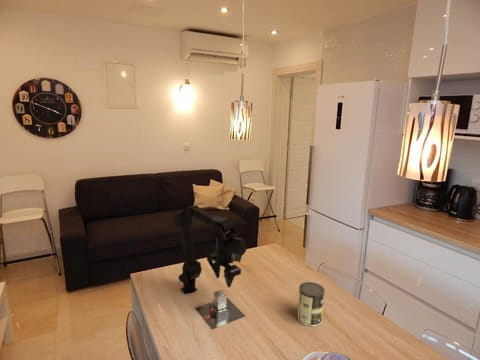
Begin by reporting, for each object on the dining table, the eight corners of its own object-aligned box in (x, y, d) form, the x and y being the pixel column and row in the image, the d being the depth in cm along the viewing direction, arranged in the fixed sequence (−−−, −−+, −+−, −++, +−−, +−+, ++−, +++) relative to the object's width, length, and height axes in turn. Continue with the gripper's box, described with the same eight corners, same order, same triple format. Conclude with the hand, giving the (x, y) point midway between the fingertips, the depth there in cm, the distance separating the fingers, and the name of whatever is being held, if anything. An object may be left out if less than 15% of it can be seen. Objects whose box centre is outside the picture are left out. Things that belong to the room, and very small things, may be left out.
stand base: (194, 310, 135) (194, 302, 134) (226, 298, 144) (226, 292, 143) (211, 331, 122) (211, 324, 121) (245, 318, 131) (245, 310, 130)
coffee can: (321, 312, 135) (323, 283, 132) (322, 328, 125) (325, 297, 122) (297, 309, 137) (299, 280, 134) (296, 324, 127) (298, 293, 124)
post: (213, 310, 133) (213, 292, 131) (221, 307, 136) (221, 289, 134) (217, 316, 130) (217, 297, 128) (226, 313, 132) (226, 294, 130)
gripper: (252, 252, 128) (251, 286, 131) (227, 237, 143) (227, 268, 146) (229, 258, 121) (228, 294, 125) (206, 242, 136) (206, 275, 140)
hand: (223, 282), depth 134 cm, fingers open, 9 cm apart
